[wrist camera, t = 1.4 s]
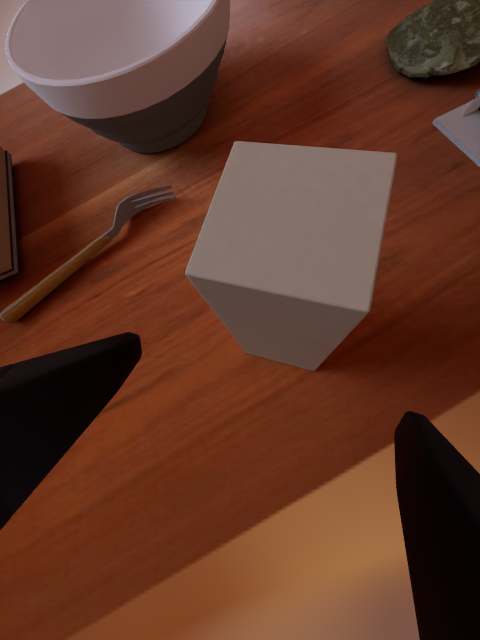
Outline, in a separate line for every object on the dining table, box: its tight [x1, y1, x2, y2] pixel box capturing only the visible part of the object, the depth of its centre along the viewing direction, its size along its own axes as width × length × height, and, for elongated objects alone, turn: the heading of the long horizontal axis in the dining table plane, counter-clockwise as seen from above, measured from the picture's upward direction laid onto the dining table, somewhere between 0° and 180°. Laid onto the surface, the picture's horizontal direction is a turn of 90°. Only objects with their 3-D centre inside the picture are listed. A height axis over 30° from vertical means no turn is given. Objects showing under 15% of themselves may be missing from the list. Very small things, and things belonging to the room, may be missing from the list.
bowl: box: [5, 0, 230, 153], centre depth 26 cm, size 20×20×10 cm
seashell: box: [385, 0, 480, 77], centre depth 25 cm, size 10×7×10 cm
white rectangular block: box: [185, 141, 397, 371], centre depth 14 cm, size 5×5×14 cm
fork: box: [0, 186, 176, 323], centre depth 25 cm, size 2×2×20 cm
